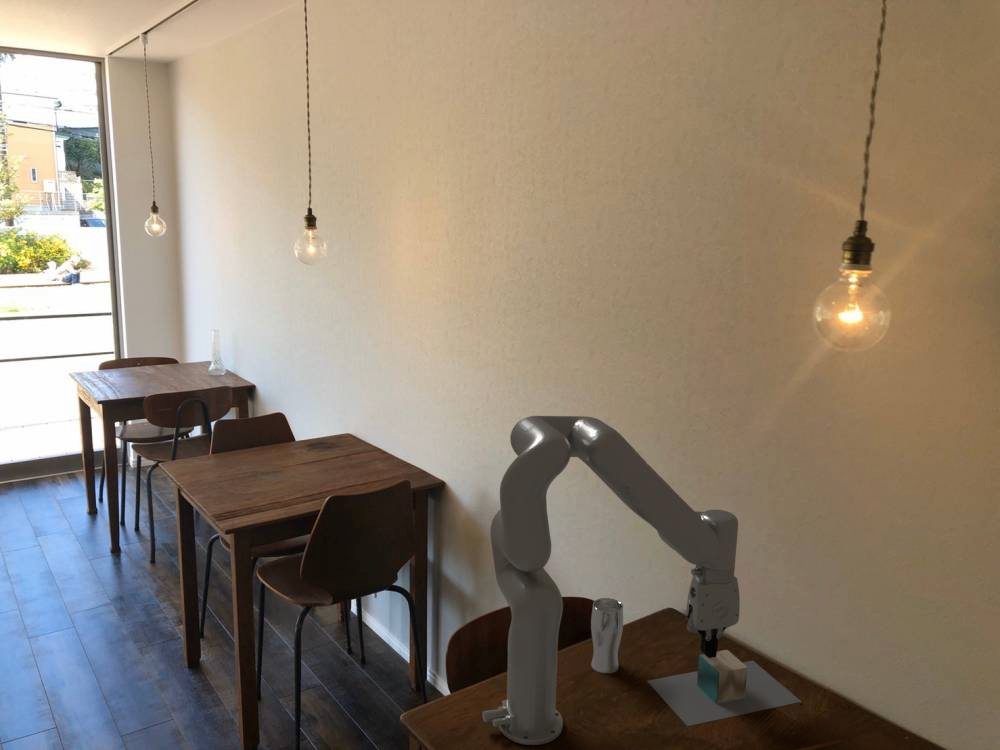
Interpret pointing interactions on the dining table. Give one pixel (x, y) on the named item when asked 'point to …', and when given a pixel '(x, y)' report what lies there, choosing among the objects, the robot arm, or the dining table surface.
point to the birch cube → (722, 677)
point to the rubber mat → (702, 709)
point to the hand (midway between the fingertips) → (708, 654)
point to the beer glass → (606, 634)
